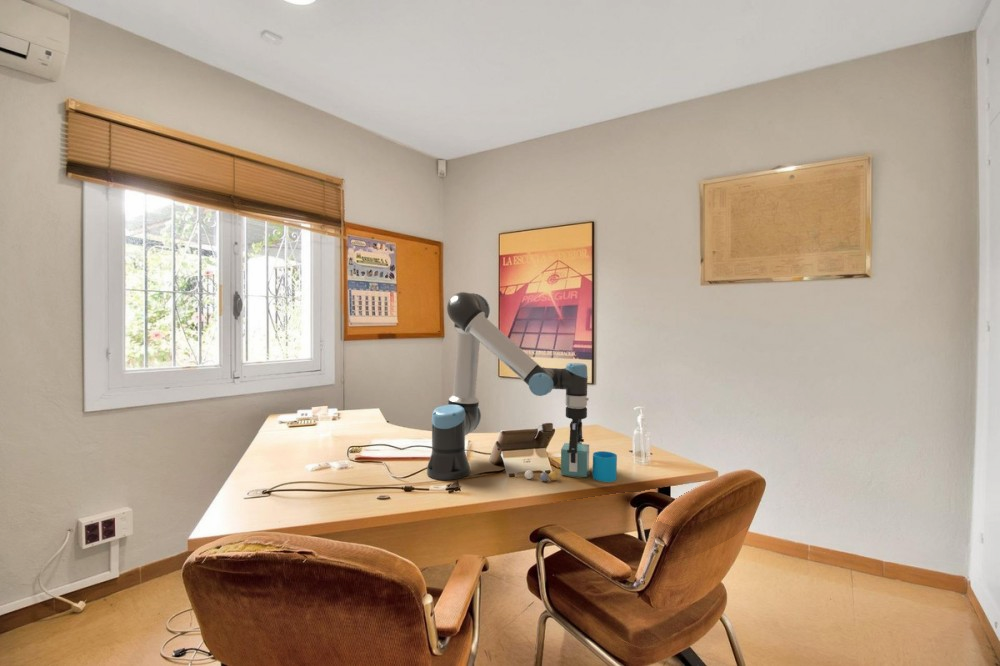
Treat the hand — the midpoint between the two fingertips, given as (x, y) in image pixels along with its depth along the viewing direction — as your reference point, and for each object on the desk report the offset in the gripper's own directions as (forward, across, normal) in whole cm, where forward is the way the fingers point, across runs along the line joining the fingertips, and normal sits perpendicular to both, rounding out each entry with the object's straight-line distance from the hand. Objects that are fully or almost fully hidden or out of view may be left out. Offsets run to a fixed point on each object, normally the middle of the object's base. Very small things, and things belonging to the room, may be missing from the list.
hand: (575, 465), depth 167 cm
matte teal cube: (+2, 0, 0) cm, 2 cm away
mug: (+3, 0, -10) cm, 10 cm away
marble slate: (+2, -11, +9) cm, 14 cm away
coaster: (+3, 0, 0) cm, 3 cm away
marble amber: (+2, -9, +7) cm, 11 cm away
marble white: (0, -12, +16) cm, 20 cm away
